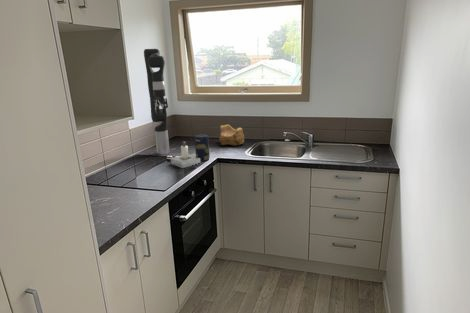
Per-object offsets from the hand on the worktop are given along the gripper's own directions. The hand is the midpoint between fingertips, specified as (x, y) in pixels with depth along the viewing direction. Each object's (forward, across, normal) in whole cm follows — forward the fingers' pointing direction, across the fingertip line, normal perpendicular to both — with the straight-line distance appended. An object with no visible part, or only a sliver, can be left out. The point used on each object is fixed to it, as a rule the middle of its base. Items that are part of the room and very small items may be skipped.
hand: (161, 114), depth 216 cm
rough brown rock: (+33, +9, -63) cm, 72 cm away
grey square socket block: (+33, -12, -8) cm, 36 cm away
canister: (+33, -12, -22) cm, 42 cm away
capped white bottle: (+33, -12, -8) cm, 36 cm away
